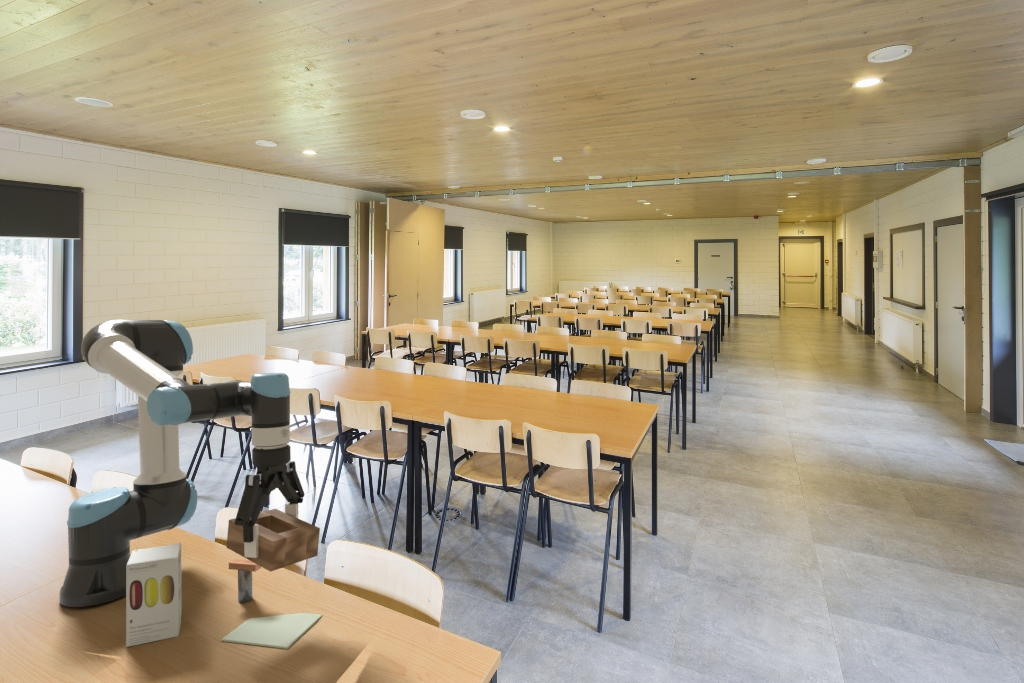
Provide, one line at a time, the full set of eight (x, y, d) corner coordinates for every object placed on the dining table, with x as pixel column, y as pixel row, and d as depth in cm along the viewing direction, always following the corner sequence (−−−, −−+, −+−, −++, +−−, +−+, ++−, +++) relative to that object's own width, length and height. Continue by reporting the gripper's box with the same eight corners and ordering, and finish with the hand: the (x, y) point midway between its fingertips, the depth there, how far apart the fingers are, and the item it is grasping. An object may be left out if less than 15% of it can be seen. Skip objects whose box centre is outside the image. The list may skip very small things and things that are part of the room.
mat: (221, 641, 114) (221, 639, 114) (262, 610, 127) (262, 608, 127) (287, 648, 111) (287, 646, 111) (322, 616, 124) (322, 614, 124)
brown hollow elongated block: (270, 571, 110) (273, 541, 110) (226, 547, 119) (228, 519, 118) (317, 555, 119) (319, 528, 119) (273, 534, 128) (275, 508, 128)
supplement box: (124, 648, 112) (123, 565, 111) (131, 627, 120) (130, 549, 120) (180, 636, 116) (179, 556, 116) (182, 616, 124) (182, 541, 124)
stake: (226, 607, 128) (225, 564, 128) (238, 599, 132) (237, 557, 132) (253, 610, 127) (252, 566, 127) (264, 602, 131) (263, 559, 131)
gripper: (247, 459, 106) (249, 569, 106) (319, 435, 130) (320, 525, 130) (213, 457, 107) (215, 566, 107) (290, 434, 132) (291, 523, 132)
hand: (272, 544), depth 119 cm, fingers closed on brown hollow elongated block, 13 cm apart
